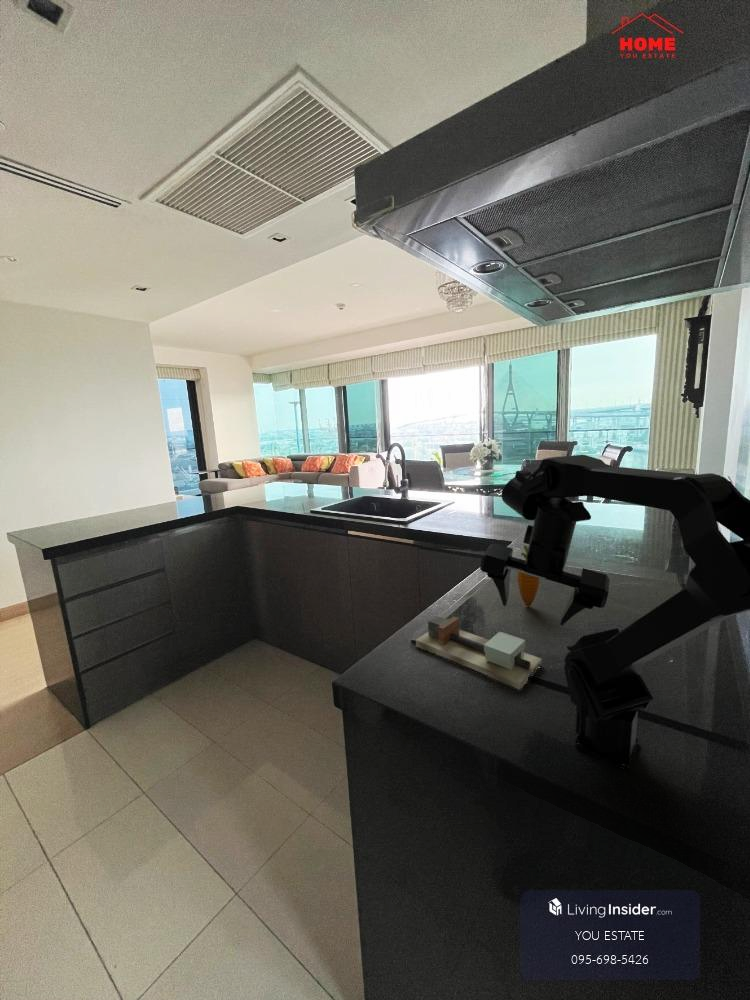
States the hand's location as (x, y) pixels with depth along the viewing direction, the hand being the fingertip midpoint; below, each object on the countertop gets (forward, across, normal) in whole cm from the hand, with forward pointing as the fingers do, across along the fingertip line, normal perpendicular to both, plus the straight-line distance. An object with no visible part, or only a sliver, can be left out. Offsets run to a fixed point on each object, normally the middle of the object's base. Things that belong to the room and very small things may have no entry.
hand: (532, 613), depth 70 cm
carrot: (+18, +2, -25) cm, 31 cm away
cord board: (+14, +8, 0) cm, 16 cm away
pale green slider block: (+11, +3, +1) cm, 11 cm away
